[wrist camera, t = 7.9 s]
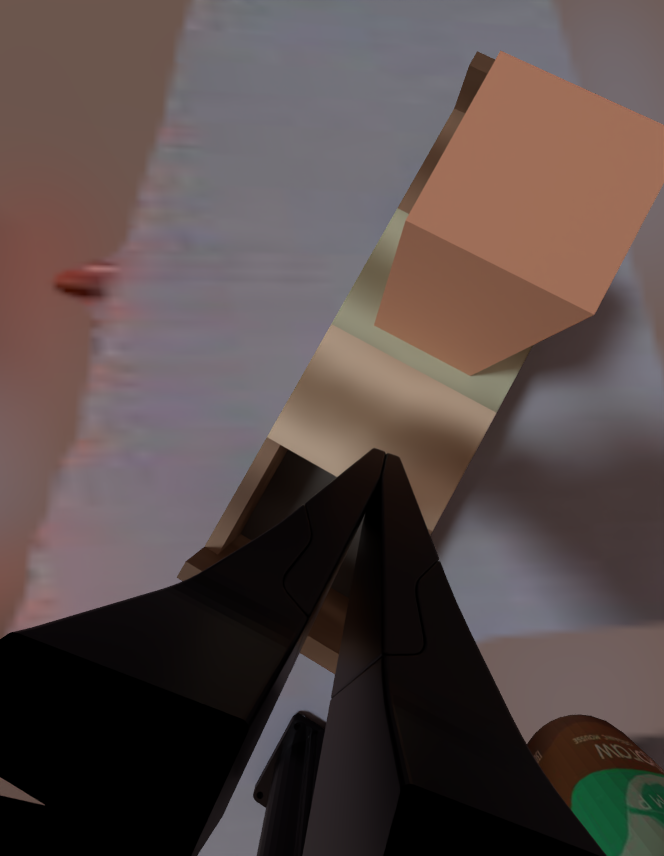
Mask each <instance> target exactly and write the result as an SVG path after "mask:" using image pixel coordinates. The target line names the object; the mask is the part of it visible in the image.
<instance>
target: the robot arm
mask: <svg viewBox="0 0 664 856" xmlns="http://www.w3.org/2000/svg"><path fill="white" fill-rule="evenodd" d="M363 517H364V519H363ZM362 519H363V524H362V529H361V535H360V540H359V546H358V551H357V557H356V562H355V568H354V573H353V579H352V584H351V590H350V595H349V601H348V607H347V612H346V618H345V623H344V629H343V634H342V640H341V645H340V651H339V656H338V662H337V667H336V673H335V678H334V684H333V689H332V695H331V698H332V699H331V700H330V706H329V711H328V717H327V722H326V728H325V729H323V728H322V727H320V726H318V725H317V724H315V723H314V722H312V721H310V720H309V719H307V718H306V717H304V716H302V715H301V714H296V715H294V716H293V717H292V719H291V721H290V723H289V724H288V726H287V728H286V730H285V732H284V734H283V735H282V737H281V739H280V741H279V743H278V745H277V746H276V748H275V750H274V752H273V754H272V756H271V757H270V759H269V761H268V763H267V765H266V767H265V769H264V770H263V772H262V774H261V776H260V778H259V780H258V781H257V783H256V786H255V789H254V793H253V797H254V799H255V801H257V802H258V803H260V804H261V805H263V806H264V807H266V811H265V817H264V822H263V827H262V832H261V837H260V842H259V847H258V852H257V856H607V855H606V854H605V853H604V851H603V850H602V849H601V848H600V846H599V845H598V844H597V842H596V841H595V840H594V839H593V837H592V836H591V835H590V833H589V832H588V831H587V830H586V828H585V827H584V826H583V825H582V823H581V822H580V821H579V819H578V818H577V817H576V816H575V814H574V813H573V812H572V810H571V809H570V808H569V807H568V805H567V804H566V803H565V801H564V800H563V799H562V797H561V796H560V795H559V793H558V792H557V791H556V789H555V788H554V786H553V785H552V784H551V782H550V781H549V779H548V778H547V776H546V775H545V773H544V772H543V770H542V769H541V767H540V766H539V764H538V762H537V761H536V759H535V758H534V756H533V755H532V753H531V751H530V749H529V748H528V746H527V744H526V742H525V741H524V739H523V737H522V735H521V733H520V732H519V730H518V728H517V726H516V724H515V722H514V720H513V718H512V716H511V714H510V712H509V710H508V708H507V706H506V704H505V702H504V700H503V698H502V696H501V694H500V691H499V689H498V687H497V686H496V684H495V681H494V679H493V677H492V675H491V673H490V671H489V669H488V667H487V665H486V663H485V661H484V659H483V657H482V655H481V653H480V651H479V649H478V647H477V644H476V642H475V640H474V638H473V636H472V634H471V632H470V630H469V628H468V626H467V624H466V621H465V619H464V617H463V615H462V613H461V611H460V609H459V606H458V604H457V602H456V600H455V597H454V595H453V592H452V590H451V587H450V585H449V583H448V580H447V578H446V575H445V573H444V570H443V567H442V565H441V562H440V561H438V560H439V557H438V555H437V552H436V549H435V547H434V544H433V542H432V539H431V536H430V534H429V531H428V529H427V526H426V524H425V521H424V518H423V516H422V513H421V511H420V508H419V505H418V503H417V500H416V498H415V495H414V492H413V490H412V487H411V485H410V482H409V479H408V477H407V474H406V472H405V469H404V466H403V464H402V461H401V459H400V457H399V456H396V455H394V454H391V453H387V454H386V452H385V451H383V450H380V449H377V448H372V449H371V450H370V451H369V452H367V453H366V454H365V455H364V456H362V457H361V458H360V459H359V460H357V461H356V462H355V463H354V464H352V465H351V466H350V467H349V468H348V469H346V470H345V471H344V472H343V473H341V474H340V475H339V476H338V477H336V478H335V479H334V480H333V481H331V482H330V483H329V484H328V485H326V486H325V487H324V488H323V489H322V490H320V491H319V492H318V493H317V494H315V495H314V496H313V497H312V498H310V499H309V500H308V501H307V502H305V504H304V505H302V506H300V507H299V508H298V509H297V510H295V511H294V512H293V513H292V514H290V515H289V516H288V517H286V518H285V519H284V520H282V521H281V522H280V523H278V524H277V525H275V526H274V527H272V528H271V529H269V530H268V531H266V532H265V533H263V534H262V535H260V536H259V537H257V538H255V539H254V540H252V541H251V542H249V543H247V544H246V545H244V546H243V547H241V548H239V549H238V550H236V551H234V552H233V553H231V554H230V555H228V556H226V557H225V558H223V559H222V560H220V561H218V562H217V563H215V564H213V565H212V566H210V567H209V568H207V569H205V570H203V571H202V572H200V573H198V574H196V575H195V576H193V577H191V578H189V579H187V580H184V581H182V582H180V583H178V584H175V585H172V586H170V587H167V588H164V589H161V590H157V591H154V592H150V593H147V594H144V595H140V596H137V597H133V598H130V599H127V600H123V601H120V602H117V603H113V604H110V605H106V606H103V607H100V608H96V609H93V610H89V611H86V612H83V613H79V614H76V615H73V616H69V617H66V618H62V619H59V620H56V621H52V622H49V623H45V624H42V625H39V626H35V627H32V628H28V629H24V630H19V631H15V632H11V633H9V634H7V635H6V636H4V637H3V638H1V639H0V856H197V855H198V854H199V852H200V850H201V849H202V847H203V846H204V844H205V843H206V841H207V840H208V838H209V836H210V835H211V833H212V832H213V830H214V829H215V827H216V826H217V824H218V822H219V821H220V819H221V818H222V816H223V814H224V812H225V810H226V808H227V805H228V803H229V801H230V799H231V797H232V795H233V793H234V791H235V788H236V786H237V784H238V782H239V780H240V778H241V776H242V774H243V771H244V769H245V767H246V765H247V763H248V761H249V759H250V757H251V755H252V752H253V750H254V748H255V746H256V744H257V742H258V740H259V738H260V736H261V733H262V731H263V729H264V727H265V725H266V723H267V721H268V719H269V716H270V714H271V712H272V710H273V708H274V706H275V704H276V702H277V700H278V697H279V695H280V693H281V691H282V689H283V687H284V685H285V683H286V681H287V678H288V676H289V674H290V672H291V670H292V668H293V666H294V664H295V661H296V659H297V657H298V655H299V653H300V651H301V649H302V647H303V645H304V642H305V640H306V638H307V636H308V634H309V632H310V630H311V628H312V626H313V623H314V621H315V619H316V617H317V615H318V613H319V611H320V609H321V607H322V604H323V602H324V600H325V598H326V596H327V594H328V592H329V590H330V587H331V585H332V583H333V581H334V579H335V577H336V575H337V573H338V571H339V568H340V566H341V564H342V562H343V560H344V558H345V556H346V554H347V552H348V549H349V547H350V545H351V543H352V541H353V539H354V537H355V535H356V533H357V530H358V528H359V526H360V524H361V522H362ZM296 723H299V724H296Z"/></svg>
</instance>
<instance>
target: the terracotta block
mask: <svg viewBox="0 0 664 856" xmlns="http://www.w3.org/2000/svg"><path fill="white" fill-rule="evenodd" d="M663 183H664V125H662V124H660V123H658V122H656V121H654V120H651V119H649V118H647V117H645V116H643V115H641V114H638V113H636V112H634V111H631V110H630V109H627V108H625V107H623V106H621V105H619V104H616V103H614V102H612V101H610V100H608V99H605V98H603V97H601V96H599V95H597V94H594V93H592V92H590V91H588V90H585V89H583V88H581V87H579V86H577V85H575V84H572V83H570V82H568V81H566V80H564V79H561V78H559V77H557V76H555V75H553V74H550V73H548V72H546V71H544V70H542V69H539V68H537V67H535V66H533V65H531V64H528V63H526V62H524V61H522V60H520V59H517V58H515V57H513V56H511V55H509V54H506V53H504V52H502V51H500V53H499V54H498V56H497V58H496V60H495V62H494V63H493V65H492V67H491V69H490V70H489V72H488V74H487V76H486V78H485V79H484V81H483V83H482V85H481V87H480V88H479V90H478V92H477V94H476V95H475V97H474V99H473V101H472V103H471V104H470V106H469V108H468V110H467V112H466V113H465V115H464V117H463V119H462V120H461V122H460V124H459V126H458V128H457V129H456V131H455V133H454V135H453V137H452V138H451V140H450V142H449V144H448V145H447V147H446V149H445V151H444V153H443V154H442V156H441V158H440V160H439V161H438V163H437V165H436V167H435V169H434V170H433V172H432V174H431V176H430V178H429V179H428V181H427V183H426V185H425V186H424V188H423V190H422V192H421V194H420V195H419V197H418V199H417V201H416V203H415V204H414V206H413V208H412V210H411V211H410V213H409V215H408V217H407V219H406V220H405V224H404V227H403V230H402V234H401V237H400V240H399V244H398V247H397V250H396V254H395V257H394V260H393V264H392V267H391V270H390V274H389V277H388V280H387V283H386V287H385V290H384V293H383V297H382V300H381V303H380V307H379V310H378V313H377V317H376V320H375V323H374V326H376V327H378V328H380V329H382V330H384V331H386V332H388V333H389V334H391V335H393V336H395V337H397V338H399V339H401V340H403V341H405V342H407V343H408V344H410V345H412V346H414V347H416V348H418V349H420V350H422V351H424V352H426V353H427V354H429V355H431V356H433V357H435V358H437V359H439V360H441V361H443V362H445V363H447V364H448V365H450V366H452V367H454V368H456V369H458V370H460V371H462V372H464V373H466V374H467V375H469V376H471V375H473V374H475V373H477V372H480V371H482V370H484V369H486V368H488V367H490V366H492V365H494V364H496V363H498V362H500V361H502V360H504V359H506V358H508V357H510V356H512V355H514V354H516V353H518V352H520V351H522V350H524V349H526V348H528V347H530V346H532V345H534V344H536V343H538V342H540V341H542V340H544V339H546V338H548V337H550V336H552V335H554V334H556V333H558V332H560V331H562V330H564V329H566V328H568V327H570V326H573V325H575V324H577V323H579V322H581V321H583V320H585V319H587V318H589V317H591V316H593V315H595V313H596V311H597V309H598V307H599V305H600V303H601V301H602V299H603V297H604V296H605V294H606V292H607V290H608V288H609V286H610V284H611V282H612V280H613V278H614V277H615V275H616V273H617V271H618V269H619V267H620V265H621V263H622V261H623V259H624V258H625V256H626V254H627V252H628V250H629V248H630V246H631V244H632V242H633V240H634V239H635V237H636V235H637V233H638V231H639V229H640V227H641V225H642V223H643V221H644V220H645V218H646V216H647V214H648V212H649V210H650V208H651V206H652V204H653V202H654V200H655V199H656V197H657V195H658V193H659V191H660V189H661V187H662V185H663Z"/></svg>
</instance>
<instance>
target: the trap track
mask: <svg viewBox="0 0 664 856" xmlns="http://www.w3.org/2000/svg"><path fill="white" fill-rule="evenodd" d="M494 62H495V59H493V58H490V57H488V56H486V55H484V54H482V53H480V52H477V53H476V55H475V56H474V58H473V60H472V62H471V63H470V65H469V68H468V71H467V74H466V76H465V79H464V82H463V85H462V88H461V91H460V94H459V97H458V100H457V102H456V105H455V108H454V110H453V112H452V114H451V115H450V117H449V119H448V121H447V122H446V124H445V126H444V128H443V129H442V131H441V133H440V135H439V136H438V138H437V140H436V142H435V143H434V145H433V147H432V149H431V150H430V152H429V154H428V156H427V157H426V159H425V161H424V163H423V164H422V166H421V168H420V170H419V171H418V173H417V175H416V177H415V178H414V180H413V182H412V184H411V185H410V187H409V189H408V191H407V193H406V194H405V196H404V198H403V200H402V201H401V203H400V205H399V207H398V208H397V210H396V212H395V214H394V215H393V217H392V219H391V221H390V222H389V224H388V226H387V228H386V229H385V231H384V233H383V235H382V236H381V238H380V240H379V242H378V243H377V245H376V247H375V249H374V250H373V252H372V254H371V256H370V257H369V259H368V261H367V263H366V264H365V266H364V268H363V270H362V271H361V273H360V275H359V277H358V278H357V280H356V282H355V284H354V286H353V287H352V289H351V291H350V293H349V294H348V296H347V298H346V300H345V301H344V303H343V305H342V307H341V308H340V310H339V312H338V314H337V315H336V317H335V319H334V321H333V322H332V324H331V326H330V328H329V329H328V331H327V333H326V335H325V336H324V338H323V340H322V342H321V343H320V345H319V347H318V349H317V350H316V352H315V354H314V356H313V357H312V359H311V361H310V363H309V364H308V366H307V368H306V370H305V371H304V373H303V375H302V377H301V379H300V380H299V382H298V384H297V386H296V387H295V389H294V391H293V393H292V394H291V396H290V398H289V400H288V401H287V403H286V405H285V407H284V408H283V410H282V412H281V414H280V415H279V417H278V419H277V421H276V422H275V424H274V426H273V428H272V429H271V431H270V433H269V435H268V436H267V438H266V440H265V442H264V443H263V445H262V447H261V449H260V450H259V452H258V454H257V456H256V457H255V459H254V461H253V463H252V465H251V466H250V468H249V470H248V472H247V473H246V475H245V477H244V479H243V480H242V482H241V484H240V486H239V487H238V489H237V491H236V493H235V494H234V496H233V498H232V500H231V501H230V503H229V505H228V507H227V508H226V510H225V512H224V514H223V515H222V517H221V519H220V521H219V522H218V524H217V526H216V528H215V529H214V531H213V533H212V535H211V536H210V538H209V540H208V542H207V543H206V545H205V547H204V548H202V549H201V550H200V551H199V552H197V553H196V554H195V555H194V556H192V557H191V558H190V559H188V560H187V561H186V562H185V564H184V566H183V567H182V569H181V571H180V573H179V574H178V576H177V578H179V579H180V580H182V581H184V580H187V579H189V578H191V577H193V576H195V575H196V574H198V573H200V572H202V571H203V570H205V569H207V568H209V567H210V566H212V565H213V564H215V563H217V562H218V561H220V560H222V559H223V558H225V557H226V556H228V555H230V554H231V553H233V552H234V551H236V550H238V549H239V548H241V547H243V546H244V545H246V544H247V543H249V542H251V541H252V540H254V539H255V538H257V537H259V536H260V535H262V534H263V533H265V532H266V531H268V530H269V529H271V528H272V527H274V526H275V525H277V524H278V523H280V522H281V521H282V520H284V519H285V518H286V517H288V516H289V515H290V514H292V513H293V512H294V511H295V510H297V509H298V508H299V507H300V506H302V505H304V504H305V502H307V501H308V500H309V499H310V498H312V497H313V496H314V495H315V494H317V493H318V492H319V491H320V490H322V489H323V488H324V487H325V486H326V485H328V484H329V483H330V482H331V481H333V480H334V479H335V478H336V477H338V476H339V475H340V474H341V473H343V472H344V471H345V470H346V469H348V468H349V467H350V466H351V465H352V464H354V463H355V462H356V461H357V460H359V459H360V458H361V457H362V456H364V455H365V454H366V453H367V452H369V451H370V450H371V449H372V448H377V449H380V450H383V451H385V452H386V454H387V453H391V454H394V455H396V456H399V457H400V459H401V461H402V464H403V466H404V469H405V472H406V474H407V477H408V479H409V482H410V485H411V487H412V490H413V492H414V495H415V498H416V500H417V503H418V505H419V508H420V511H421V513H422V516H423V518H424V521H425V524H426V526H427V529H428V531H429V534H430V535H431V533H432V531H433V529H434V528H435V526H436V524H437V522H438V520H439V518H440V516H441V515H442V513H443V511H444V509H445V507H446V505H447V503H448V502H449V500H450V498H451V496H452V494H453V492H454V491H455V489H456V487H457V485H458V483H459V481H460V479H461V478H462V476H463V474H464V472H465V470H466V468H467V466H468V465H469V463H470V461H471V459H472V457H473V455H474V453H475V452H476V450H477V448H478V446H479V444H480V442H481V441H482V439H483V437H484V435H485V433H486V431H487V429H488V428H489V426H490V424H491V422H492V420H493V418H494V416H495V415H496V413H497V411H498V409H499V407H500V405H501V404H502V402H503V400H504V398H505V396H506V394H507V392H508V391H509V389H510V387H511V385H512V383H513V381H514V379H515V378H516V376H517V374H518V372H519V370H520V368H521V366H522V365H523V363H524V361H525V359H526V357H527V355H528V354H529V352H530V350H531V348H532V346H533V345H532V346H530V347H528V348H526V349H524V350H522V351H520V352H518V353H516V354H514V355H512V356H510V357H508V358H506V359H504V360H502V361H500V362H498V363H496V364H494V365H492V366H490V367H488V368H486V369H484V370H482V371H480V372H477V373H475V374H473V375H471V376H469V375H467V374H466V373H464V372H462V371H460V370H458V369H456V368H454V367H452V366H450V365H448V364H447V363H445V362H443V361H441V360H439V359H437V358H435V357H433V356H431V355H429V354H427V353H426V352H424V351H422V350H420V349H418V348H416V347H414V346H412V345H410V344H408V343H407V342H405V341H403V340H401V339H399V338H397V337H395V336H393V335H391V334H389V333H388V332H386V331H384V330H382V329H380V328H378V327H376V326H374V323H375V320H376V317H377V313H378V310H379V307H380V303H381V300H382V297H383V293H384V290H385V287H386V283H387V280H388V277H389V274H390V270H391V267H392V264H393V260H394V257H395V254H396V250H397V247H398V244H399V240H400V237H401V234H402V230H403V227H404V224H405V220H406V219H407V217H408V215H409V213H410V211H411V210H412V208H413V206H414V204H415V203H416V201H417V199H418V197H419V195H420V194H421V192H422V190H423V188H424V186H425V185H426V183H427V181H428V179H429V178H430V176H431V174H432V172H433V170H434V169H435V167H436V165H437V163H438V161H439V160H440V158H441V156H442V154H443V153H444V151H445V149H446V147H447V145H448V144H449V142H450V140H451V138H452V137H453V135H454V133H455V131H456V129H457V128H458V126H459V124H460V122H461V120H462V119H463V117H464V115H465V113H466V112H467V110H468V108H469V106H470V104H471V103H472V101H473V99H474V97H475V95H476V94H477V92H478V90H479V88H480V87H481V85H482V83H483V81H484V79H485V78H486V76H487V74H488V72H489V70H490V69H491V67H492V65H493V63H494ZM363 519H364V517H363ZM363 519H362V522H361V524H360V526H359V528H358V530H357V533H356V535H355V537H354V539H353V541H352V543H351V545H350V547H349V549H348V552H347V554H346V556H345V558H344V560H343V562H342V564H341V566H340V568H339V571H338V573H337V575H336V577H335V579H334V581H333V583H332V585H331V587H330V590H329V592H328V594H327V596H326V598H325V600H324V602H323V604H322V607H321V609H320V611H319V613H318V615H317V617H316V619H315V621H314V623H313V626H312V628H311V630H310V632H309V634H308V636H307V638H306V640H305V642H304V645H303V647H302V649H301V651H300V653H301V654H303V655H304V656H306V657H308V658H309V659H311V660H312V661H314V662H316V663H317V664H319V665H321V666H322V667H324V668H326V669H327V670H329V671H330V672H332V673H334V674H335V673H336V667H337V662H338V656H339V651H340V645H341V640H342V634H343V629H344V623H345V618H346V612H347V607H348V601H349V595H350V590H351V584H352V579H353V573H354V568H355V562H356V557H357V551H358V546H359V540H360V535H361V529H362V524H363Z"/></svg>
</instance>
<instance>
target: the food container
mask: <svg viewBox="0 0 664 856" xmlns="http://www.w3.org/2000/svg"><path fill="white" fill-rule="evenodd" d="M527 746H528V748H529V749H530V751H531V753H532V755H533V756H534V758H535V759H536V761H537V762H538V764H539V766H540V767H541V769H542V770H543V772H544V773H545V775H546V776H547V778H548V779H549V781H550V782H551V784H552V785H553V786H554V788H555V789H556V791H557V792H558V793H559V795H560V796H561V797H562V799H563V800H564V801H565V803H566V804H567V805H568V807H569V808H570V809H571V810H572V812H573V813H574V814H575V816H576V817H577V818H578V819H579V821H580V822H581V823H582V825H583V826H584V827H585V828H586V830H587V831H588V832H589V833H590V835H591V836H592V837H593V839H594V840H595V841H596V842H597V844H598V845H599V846H600V848H601V849H602V850H603V851H604V853H605V854H606V855H607V856H664V770H663V769H662V768H661V767H660V766H659V765H657V764H656V763H655V762H654V761H653V760H652V759H651V758H650V757H649V756H648V755H647V754H646V753H645V752H643V751H642V750H641V749H640V748H639V747H638V746H637V745H636V744H635V743H634V742H633V741H632V740H631V739H629V738H628V737H627V736H626V735H625V734H624V733H623V732H621V731H620V730H618V729H617V728H615V727H614V726H613V725H611V724H610V723H608V722H607V721H604V720H601V719H598V718H595V717H592V716H586V715H568V716H564V717H560V718H558V719H555V720H553V721H551V722H549V723H547V724H546V725H544V726H543V727H542V728H541V729H539V731H538V732H536V733H535V734H534V736H533V737H532V738H531V739H530V741H529V742H528V744H527Z"/></svg>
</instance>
